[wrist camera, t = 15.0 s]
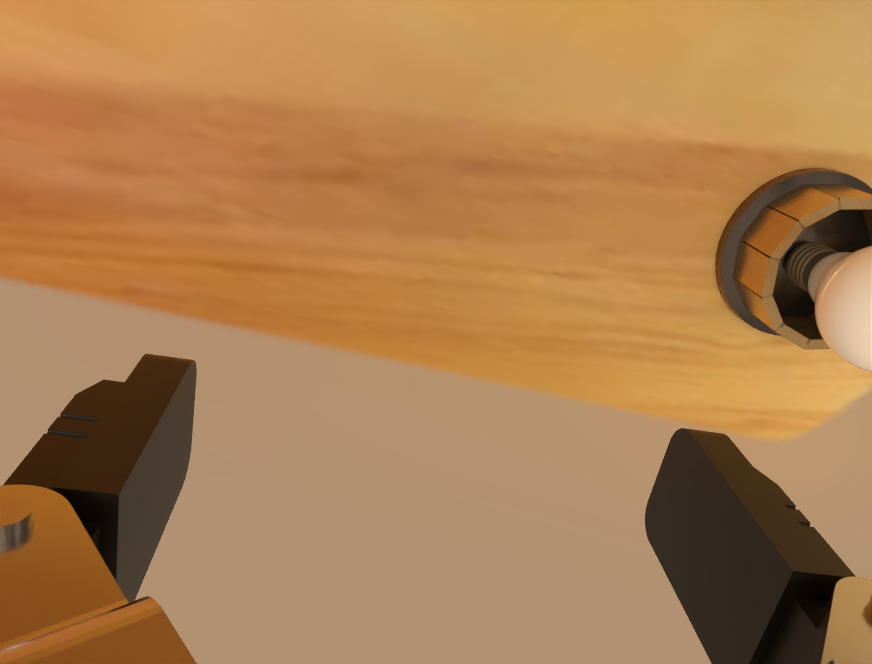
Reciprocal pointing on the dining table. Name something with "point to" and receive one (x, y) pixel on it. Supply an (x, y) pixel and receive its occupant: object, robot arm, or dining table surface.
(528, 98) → the dining table surface
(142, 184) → the dining table surface
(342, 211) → the dining table surface
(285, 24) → the dining table surface
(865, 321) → the lightbulb
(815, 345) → the bulb holder
